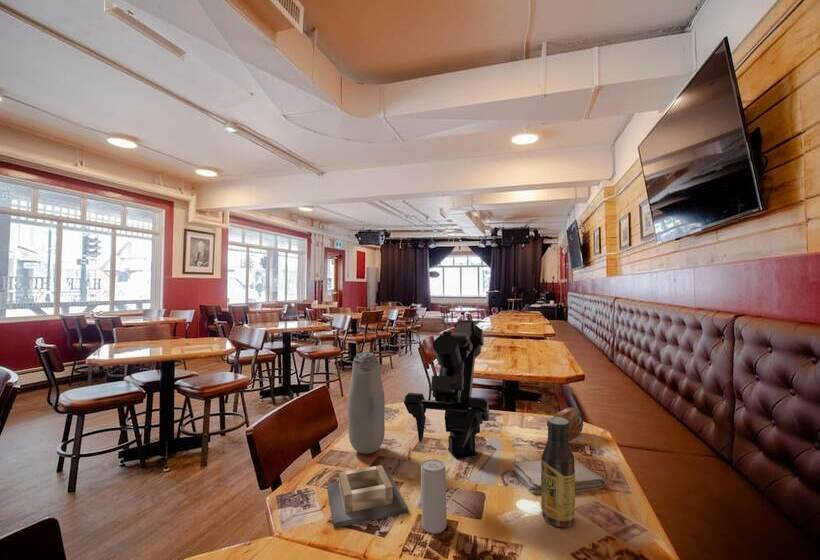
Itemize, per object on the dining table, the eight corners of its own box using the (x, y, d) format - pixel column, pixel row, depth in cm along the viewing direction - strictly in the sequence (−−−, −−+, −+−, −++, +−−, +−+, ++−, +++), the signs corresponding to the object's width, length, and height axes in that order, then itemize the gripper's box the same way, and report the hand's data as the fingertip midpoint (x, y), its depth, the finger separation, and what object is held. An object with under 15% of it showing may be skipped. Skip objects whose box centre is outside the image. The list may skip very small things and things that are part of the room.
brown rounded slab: (558, 447, 107) (558, 417, 107) (548, 443, 109) (548, 414, 109) (584, 433, 116) (583, 406, 116) (574, 430, 119) (574, 403, 119)
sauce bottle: (536, 511, 77) (534, 414, 77) (565, 509, 77) (563, 412, 78) (550, 532, 70) (548, 426, 71) (582, 529, 71) (580, 424, 71)
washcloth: (509, 472, 94) (509, 460, 94) (574, 465, 97) (574, 453, 97) (533, 499, 82) (533, 485, 82) (606, 489, 85) (606, 476, 85)
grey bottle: (342, 450, 107) (341, 352, 107) (373, 441, 113) (371, 348, 113) (360, 463, 99) (358, 357, 99) (391, 452, 105) (390, 352, 105)
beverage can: (445, 536, 69) (444, 471, 70) (419, 533, 70) (418, 469, 71) (447, 520, 74) (446, 459, 74) (423, 518, 75) (422, 458, 75)
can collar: (389, 477, 91) (389, 458, 91) (407, 512, 77) (407, 490, 77) (326, 488, 87) (326, 468, 87) (333, 528, 72) (333, 504, 73)
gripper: (405, 358, 87) (389, 422, 77) (486, 361, 82) (481, 431, 71) (415, 383, 95) (402, 445, 84) (490, 388, 89) (487, 455, 78)
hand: (441, 444), depth 79 cm, fingers open, 9 cm apart
